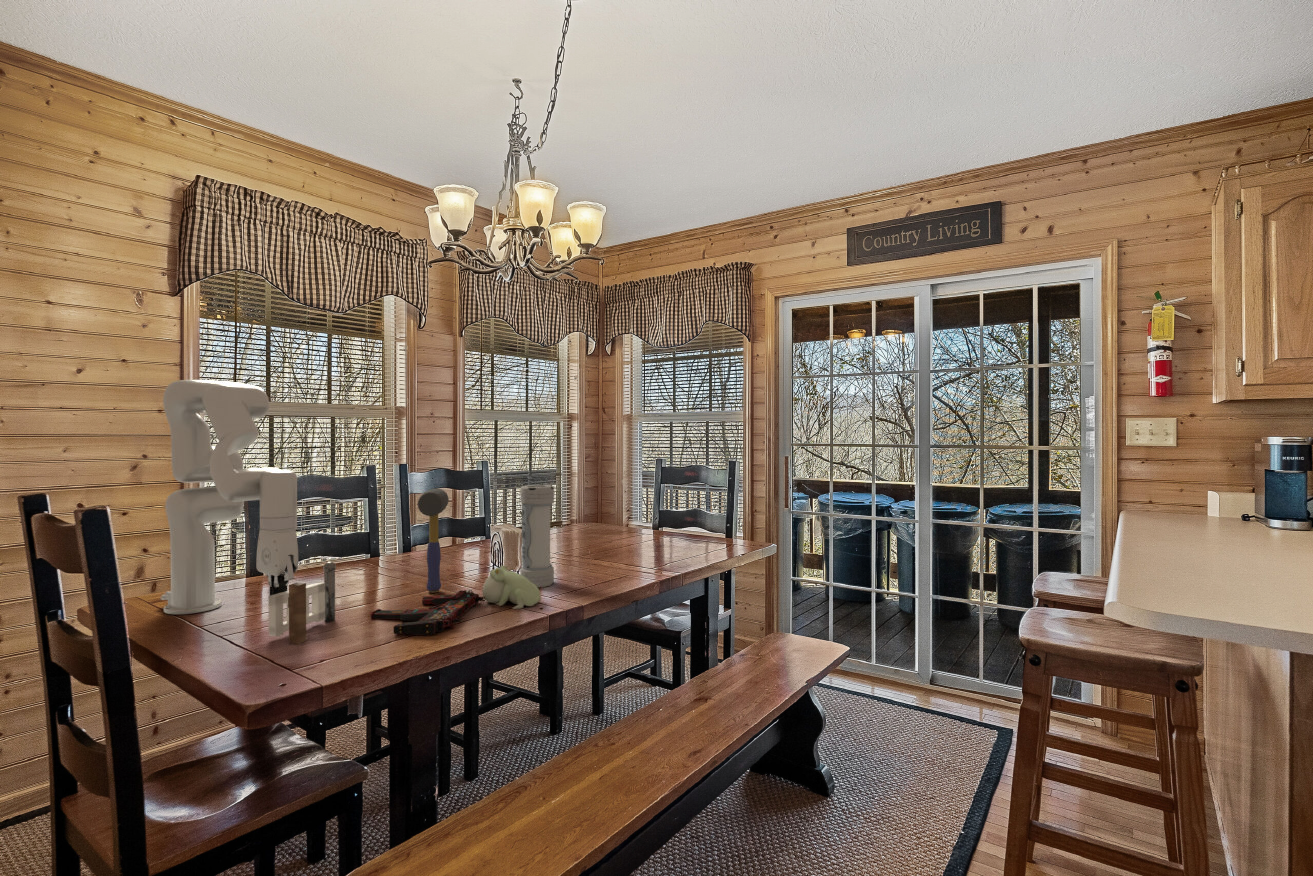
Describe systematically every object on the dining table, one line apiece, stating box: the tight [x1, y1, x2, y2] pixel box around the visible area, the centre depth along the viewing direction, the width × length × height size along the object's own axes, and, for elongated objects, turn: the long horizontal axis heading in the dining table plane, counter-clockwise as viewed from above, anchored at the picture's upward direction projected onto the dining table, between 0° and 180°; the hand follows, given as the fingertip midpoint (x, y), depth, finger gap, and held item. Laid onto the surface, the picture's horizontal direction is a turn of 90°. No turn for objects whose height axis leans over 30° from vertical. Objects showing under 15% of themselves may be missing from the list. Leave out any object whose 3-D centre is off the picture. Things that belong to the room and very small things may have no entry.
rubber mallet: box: [417, 488, 450, 593], centre depth 193 cm, size 12×8×30 cm, turn 9°
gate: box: [268, 582, 326, 638], centre depth 156 cm, size 2×15×9 cm, turn 162°
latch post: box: [288, 582, 307, 645], centre depth 148 cm, size 3×2×13 cm
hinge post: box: [322, 561, 337, 623], centre depth 165 cm, size 3×3×15 cm
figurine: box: [482, 564, 542, 610], centre depth 182 cm, size 10×16×10 cm, turn 75°
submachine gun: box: [370, 589, 486, 636], centre depth 171 cm, size 34×4×25 cm
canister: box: [520, 484, 555, 589], centre depth 204 cm, size 10×10×30 cm
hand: (278, 602), depth 154 cm, fingers closed
